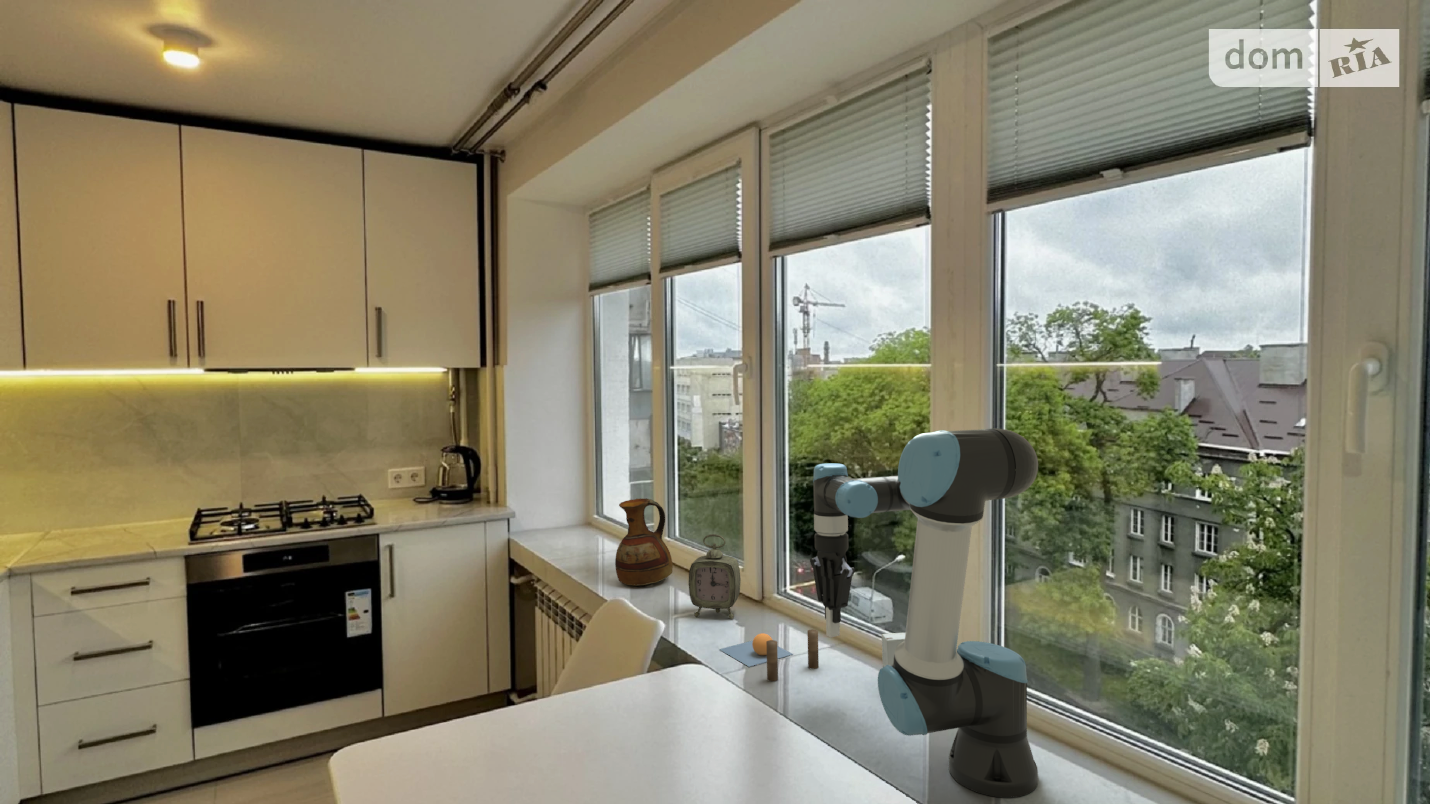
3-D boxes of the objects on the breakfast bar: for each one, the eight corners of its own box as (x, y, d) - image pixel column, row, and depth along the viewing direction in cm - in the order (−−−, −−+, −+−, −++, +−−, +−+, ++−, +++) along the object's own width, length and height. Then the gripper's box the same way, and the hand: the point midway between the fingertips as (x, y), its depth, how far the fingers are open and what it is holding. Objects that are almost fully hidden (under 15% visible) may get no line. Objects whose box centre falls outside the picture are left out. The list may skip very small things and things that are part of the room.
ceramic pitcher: (609, 579, 265) (606, 497, 264) (661, 571, 274) (659, 491, 272) (626, 593, 247) (623, 505, 246) (681, 585, 256) (679, 499, 255)
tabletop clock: (689, 618, 221) (687, 536, 220) (697, 609, 229) (695, 530, 228) (736, 621, 217) (734, 538, 216) (742, 611, 226) (740, 531, 225)
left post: (780, 679, 176) (779, 642, 176) (771, 682, 175) (770, 645, 174) (773, 675, 178) (773, 639, 178) (765, 678, 177) (764, 641, 176)
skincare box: (906, 681, 173) (906, 631, 173) (913, 690, 169) (913, 638, 168) (881, 683, 173) (880, 632, 172) (887, 691, 168) (887, 639, 168)
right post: (820, 667, 183) (820, 631, 182) (812, 669, 181) (812, 633, 181) (814, 663, 185) (813, 628, 184) (806, 666, 183) (805, 630, 183)
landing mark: (793, 654, 191) (793, 654, 191) (749, 667, 184) (749, 666, 184) (762, 638, 203) (762, 638, 203) (719, 649, 196) (719, 649, 196)
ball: (767, 652, 195) (779, 653, 190) (750, 657, 192) (761, 658, 187) (763, 631, 196) (775, 631, 191) (746, 635, 193) (757, 636, 188)
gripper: (863, 535, 162) (865, 640, 163) (825, 525, 173) (826, 624, 174) (837, 540, 158) (839, 647, 159) (800, 529, 169) (802, 630, 170)
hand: (833, 635), depth 166 cm, fingers closed
